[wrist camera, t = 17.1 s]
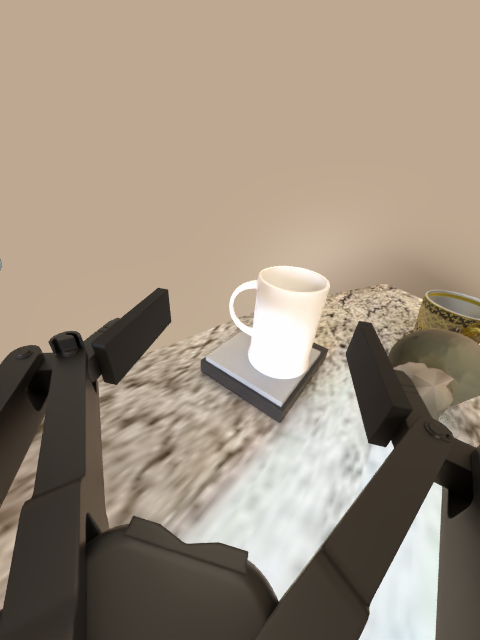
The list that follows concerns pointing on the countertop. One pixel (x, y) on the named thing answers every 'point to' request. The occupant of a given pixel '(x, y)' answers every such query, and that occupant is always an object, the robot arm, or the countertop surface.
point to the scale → (258, 376)
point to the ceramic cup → (450, 313)
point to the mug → (283, 319)
